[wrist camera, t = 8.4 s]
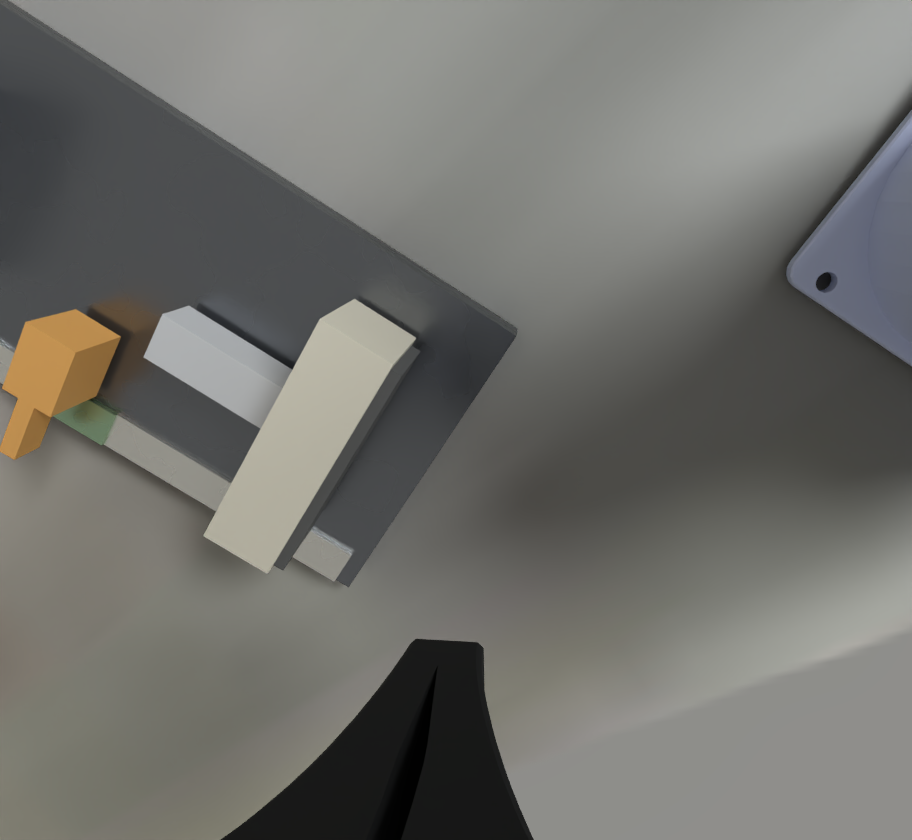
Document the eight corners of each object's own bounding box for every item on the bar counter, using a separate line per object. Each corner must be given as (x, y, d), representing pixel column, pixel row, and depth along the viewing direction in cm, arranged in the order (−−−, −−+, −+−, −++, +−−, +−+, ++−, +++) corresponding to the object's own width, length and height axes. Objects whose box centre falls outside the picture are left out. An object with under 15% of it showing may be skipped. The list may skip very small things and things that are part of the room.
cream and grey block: (425, 343, 18) (404, 371, 15) (313, 526, 21) (277, 579, 18) (228, 218, 18) (169, 223, 15) (137, 420, 20) (71, 457, 17)
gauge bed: (517, 328, 19) (509, 373, 14) (356, 570, 22) (307, 670, 18) (-39, -30, 18) (-248, -110, 13) (-120, 284, 21) (-308, 311, 17)
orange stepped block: (121, 336, 19) (75, 352, 17) (76, 444, 21) (30, 468, 19) (76, 309, 19) (25, 321, 17) (34, 418, 21) (-18, 441, 19)
